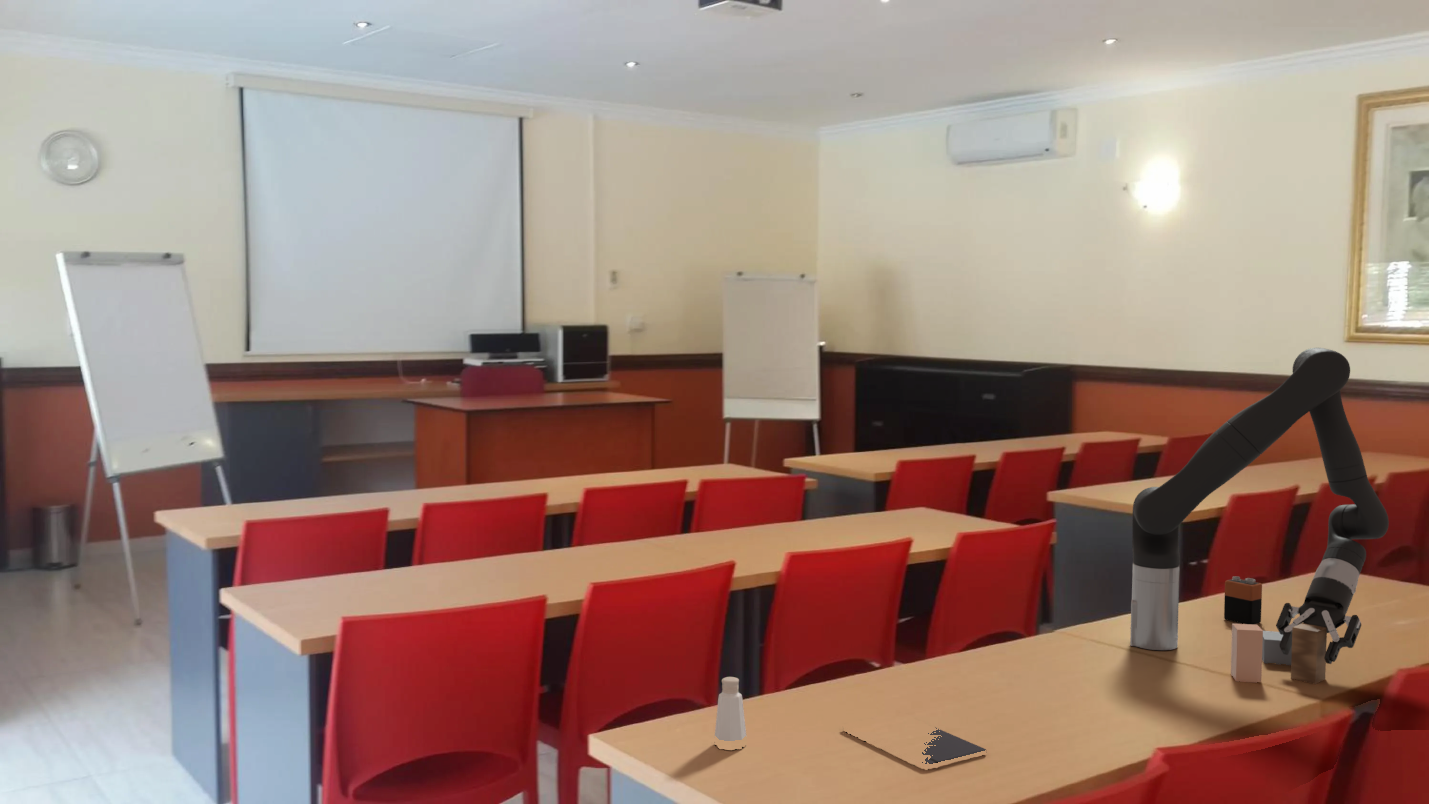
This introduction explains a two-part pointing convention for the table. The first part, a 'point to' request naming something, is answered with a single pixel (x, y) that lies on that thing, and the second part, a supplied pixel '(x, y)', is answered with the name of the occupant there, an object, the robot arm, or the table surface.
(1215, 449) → the robot arm
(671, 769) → the table surface
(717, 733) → the pepper shaker
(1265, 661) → the slate gray block
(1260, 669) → the pale pink block
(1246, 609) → the battery
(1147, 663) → the table surface
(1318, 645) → the walnut block
